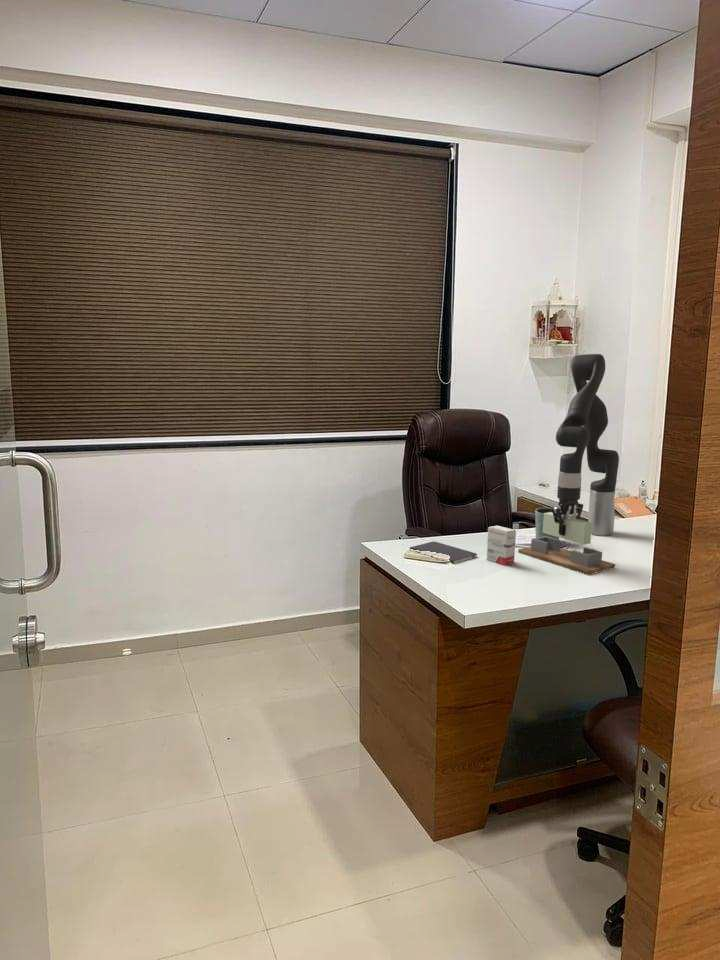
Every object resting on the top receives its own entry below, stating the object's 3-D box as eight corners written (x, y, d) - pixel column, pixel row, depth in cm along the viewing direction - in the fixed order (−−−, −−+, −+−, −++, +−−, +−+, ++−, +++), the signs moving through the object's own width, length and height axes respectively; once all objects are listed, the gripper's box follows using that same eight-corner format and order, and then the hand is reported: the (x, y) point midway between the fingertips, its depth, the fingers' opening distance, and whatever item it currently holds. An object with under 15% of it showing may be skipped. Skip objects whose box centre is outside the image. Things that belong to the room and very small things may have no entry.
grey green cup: (549, 536, 271) (551, 506, 269) (567, 543, 262) (569, 512, 260) (528, 539, 267) (529, 508, 265) (545, 546, 258) (546, 514, 256)
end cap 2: (587, 567, 230) (587, 555, 229) (570, 562, 235) (571, 550, 234) (601, 563, 234) (602, 552, 233) (584, 558, 239) (585, 547, 238)
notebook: (409, 551, 253) (453, 565, 237) (409, 547, 252) (453, 560, 236) (433, 545, 261) (478, 558, 245) (434, 541, 260) (478, 553, 245)
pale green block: (549, 531, 249) (550, 512, 247) (590, 543, 234) (591, 522, 232) (542, 532, 247) (543, 513, 246) (583, 544, 232) (584, 524, 231)
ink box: (514, 563, 238) (516, 529, 236) (505, 565, 235) (507, 531, 233) (495, 557, 244) (496, 524, 242) (485, 559, 241) (487, 526, 239)
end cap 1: (545, 546, 253) (545, 535, 253) (559, 550, 248) (560, 540, 247) (530, 549, 249) (531, 538, 249) (545, 554, 244) (546, 543, 243)
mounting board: (544, 546, 258) (545, 543, 258) (614, 567, 233) (615, 564, 233) (518, 552, 250) (518, 549, 250) (587, 575, 226) (588, 571, 225)
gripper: (574, 481, 244) (570, 529, 247) (546, 485, 236) (543, 534, 239) (592, 484, 238) (588, 533, 241) (564, 489, 230) (561, 539, 233)
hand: (566, 533), depth 240 cm, fingers closed on pale green block, 3 cm apart
